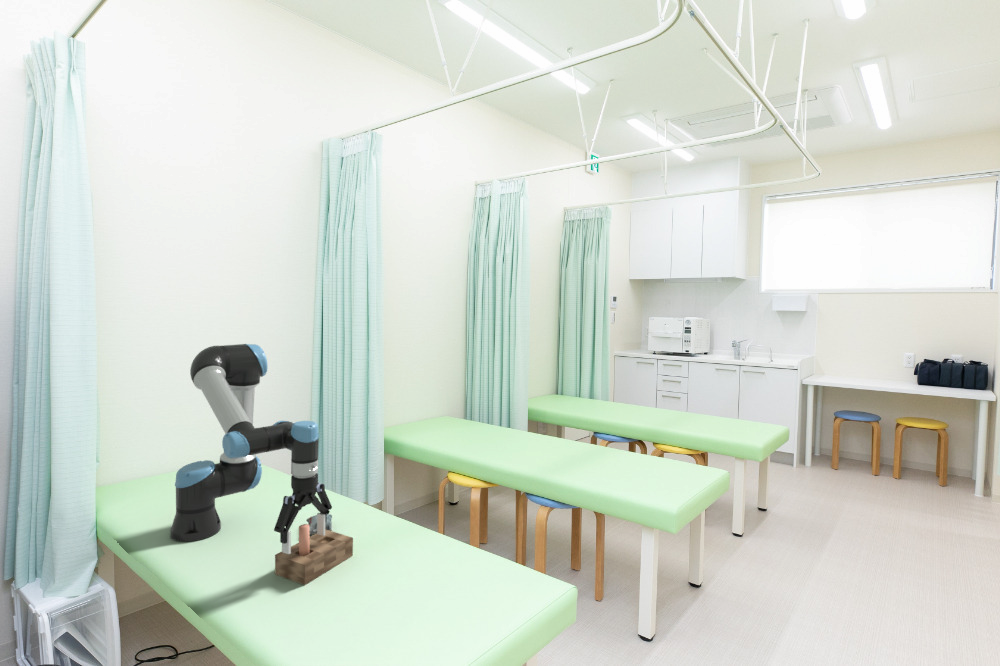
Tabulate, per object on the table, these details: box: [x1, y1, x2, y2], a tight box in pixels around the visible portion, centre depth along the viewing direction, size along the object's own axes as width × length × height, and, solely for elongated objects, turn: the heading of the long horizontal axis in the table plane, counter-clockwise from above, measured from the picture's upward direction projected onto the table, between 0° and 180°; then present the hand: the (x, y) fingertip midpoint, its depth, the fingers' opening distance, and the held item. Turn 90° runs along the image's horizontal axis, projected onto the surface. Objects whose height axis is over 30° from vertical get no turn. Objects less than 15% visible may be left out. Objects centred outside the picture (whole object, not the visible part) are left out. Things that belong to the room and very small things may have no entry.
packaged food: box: [306, 513, 333, 535], centre depth 191 cm, size 9×12×5 cm
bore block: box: [274, 529, 354, 586], centre depth 167 cm, size 12×20×6 cm, turn 154°
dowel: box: [298, 523, 311, 556], centre depth 162 cm, size 3×3×12 cm
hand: (304, 543), depth 162 cm, fingers open, 13 cm apart
